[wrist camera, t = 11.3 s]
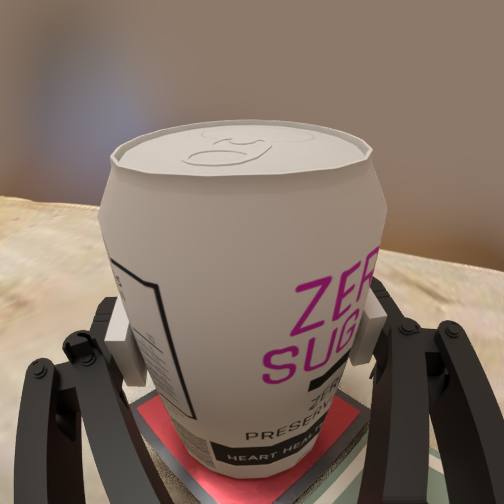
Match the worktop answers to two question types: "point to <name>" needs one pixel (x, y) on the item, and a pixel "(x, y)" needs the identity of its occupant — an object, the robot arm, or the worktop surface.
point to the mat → (350, 475)
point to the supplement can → (244, 278)
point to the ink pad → (250, 489)
